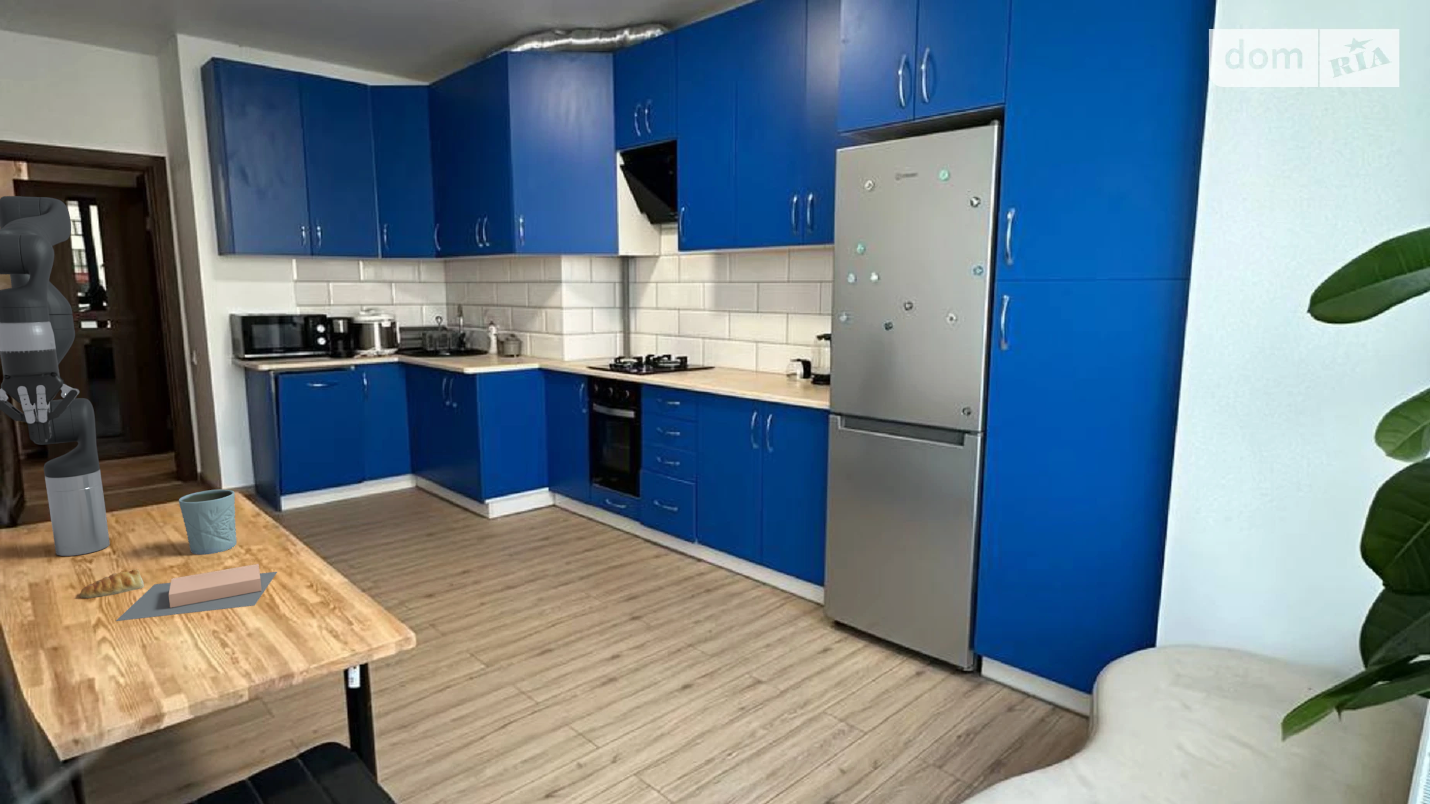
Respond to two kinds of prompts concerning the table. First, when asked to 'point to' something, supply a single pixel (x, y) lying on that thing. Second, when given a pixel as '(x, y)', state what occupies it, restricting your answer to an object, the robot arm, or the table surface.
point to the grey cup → (209, 520)
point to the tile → (214, 585)
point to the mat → (159, 605)
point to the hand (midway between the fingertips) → (41, 442)
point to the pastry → (114, 584)
